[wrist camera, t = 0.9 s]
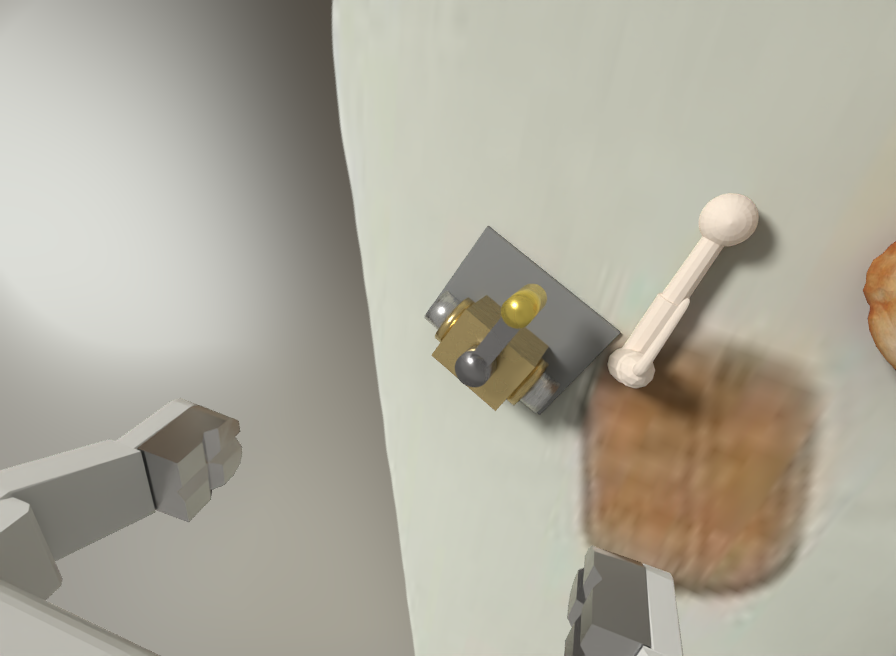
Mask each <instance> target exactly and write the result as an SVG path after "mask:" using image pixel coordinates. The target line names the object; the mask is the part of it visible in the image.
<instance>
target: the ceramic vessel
mask: <svg viewBox="0 0 896 656" xmlns="http://www.w3.org/2000/svg"><path fill="white" fill-rule="evenodd" d="M863 292H864V295H865V297H866V300H867V303H868V304H869V305H870V312H869V316H868V324H869V330H870V333H871V335H872V337H873V340H874V342H875V344H876V347H877V348H878V349H879V351H880V352H881V354H882V355H883V356H884V358H885V359H886V360H887V361H888V362H889V363H890V364H891V365H892V366H893V368H894V369H895V370H896V242H894V243H893V244H891V245H890V246H889V247H888V248H887V249H886V251H885V252H884V253H883V254H881V255H880V256H879V257H877V258H876V259H874V260H873V262H872V264H871V266H870V267H869V269H868V271H867V275H866V284H865V286H864V289H863Z"/></svg>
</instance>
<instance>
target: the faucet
mask: <svg viewBox="0 0 896 656" xmlns="http://www.w3.org/2000/svg"><path fill="white" fill-rule="evenodd" d="M758 220H759V215H758V210H757V207H756V205H755V204H754V203H753V201H752V200H751V199H749V198H748V197H746V196H744V195H741V194H735V193H729V194H723V195H720V196H718V197H716V198H714V199H712V200H711V201H710V202H708V203H707V205H706V206H705V207H704V208H703V210H702V212H701V214H700V217H699V229H700V232H701V234H702V235H703V236H702V238H701V239H700V241H699V242H698V244H697V245H696V246H695V248H694V249H693V251H692V252H691V253H690V255H689V256H688V258H687V259H686V260H685V262H684V263H683V265H682V266H681V267H680V269H679V270H678V272H677V273H676V274H675V276H674V277H673V279H672V280H671V281H670V283H669V284H668V286H667V287H666V288H665V290H664V291H663V293H658V295H657V296H656V298H655V299H654V301H653V302H652V304H651V305H650V307H649V308H648V310H647V311H646V313H645V314H644V316H643V317H642V319H641V320H640V322H639V323H638V325H637V326H636V328H635V329H634V331H633V332H632V334H631V335H630V337H629V338H628V340H627V341H626V343H625V344H624V346H623V347H622V348H619V349H616V350H615V351H614V352H613V353H612V354H611V355H610V356H609V360H608V364H607V365H608V368H609V372H610V374H611V375H612V376H613V377H614V378H615V379H616V380H617V381H618V382H621V383H623V384H624V385H626V386H629V387H632V388H639V387H644V386H646V385H647V384H648V383H649V382H650V381H652V380H653V376H654V373H655V368H654V365H653V361H654V359H655V358H656V356H657V355H658V353H659V352H660V350H661V349H662V347H663V345H664V344H665V342H666V341H667V339H668V338H669V336H670V335H671V333H672V332H673V330H674V328H675V327H676V325H677V324H678V322H679V321H680V319H681V318H682V316H683V314H684V313H685V311H686V310H687V308H688V306H689V304H690V299H689V298H690V296H691V295H692V293H693V292H694V290H695V289H696V287H697V286H698V284H699V283H700V281H701V280H702V278H703V277H704V276H705V274H706V273H707V271H708V270H709V268H710V267H711V265H712V264H713V262H714V261H715V259H716V258H717V256H718V255H719V253H720V252H721V250H722V249H723V247H724V246H733V245H737V244H739V243H742V242H743V241H745V240H746V239H748V238H749V237H750V236H751V235H752V234H753V233H754V231H755V229H756V227H757V225H758Z"/></svg>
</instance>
